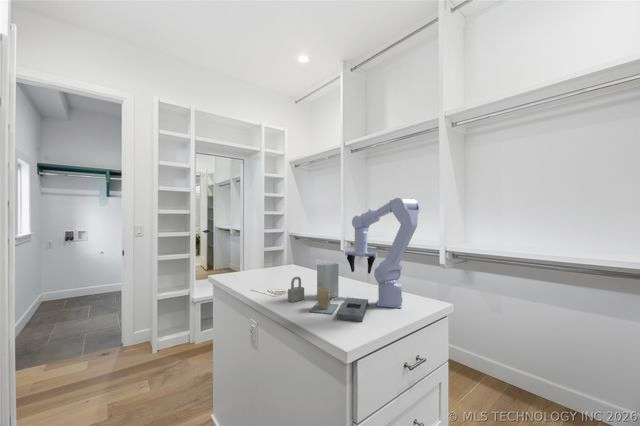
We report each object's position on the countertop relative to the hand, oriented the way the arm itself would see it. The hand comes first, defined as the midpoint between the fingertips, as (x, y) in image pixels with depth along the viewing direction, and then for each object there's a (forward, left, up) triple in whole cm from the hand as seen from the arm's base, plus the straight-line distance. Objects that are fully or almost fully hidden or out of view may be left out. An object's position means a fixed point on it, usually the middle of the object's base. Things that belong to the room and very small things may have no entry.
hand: (361, 272), depth 129 cm
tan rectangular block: (+12, +22, -10) cm, 27 cm away
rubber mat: (+11, +22, -10) cm, 27 cm away
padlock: (+26, +14, -11) cm, 31 cm away
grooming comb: (+43, +4, -11) cm, 45 cm away
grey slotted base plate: (0, +22, -10) cm, 24 cm away
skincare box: (+14, +6, -11) cm, 19 cm away
